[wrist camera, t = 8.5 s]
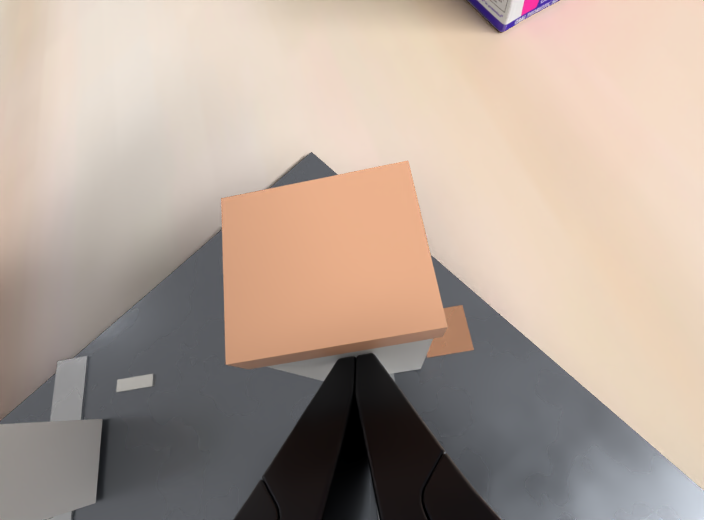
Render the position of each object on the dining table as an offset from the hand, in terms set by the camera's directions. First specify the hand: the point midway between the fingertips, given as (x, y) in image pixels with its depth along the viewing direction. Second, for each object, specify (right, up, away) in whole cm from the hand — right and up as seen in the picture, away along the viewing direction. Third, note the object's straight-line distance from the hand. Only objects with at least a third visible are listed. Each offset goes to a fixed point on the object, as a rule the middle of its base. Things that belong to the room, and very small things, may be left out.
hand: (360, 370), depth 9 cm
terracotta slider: (+1, -1, +7) cm, 7 cm away
